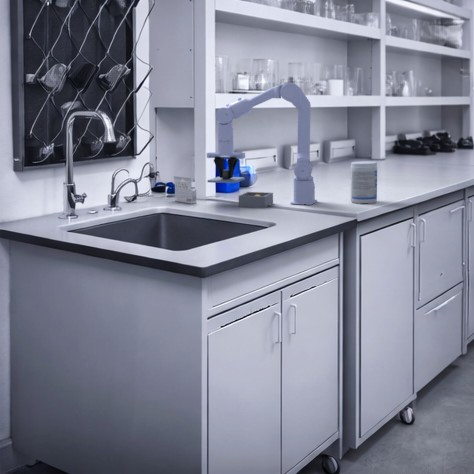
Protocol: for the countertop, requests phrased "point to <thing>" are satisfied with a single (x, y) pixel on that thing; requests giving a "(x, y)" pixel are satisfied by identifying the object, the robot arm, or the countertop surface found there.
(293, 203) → the robot arm
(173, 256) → the countertop surface
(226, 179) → the lid
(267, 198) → the box
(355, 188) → the supplement tub
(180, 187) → the ink cartridge box
